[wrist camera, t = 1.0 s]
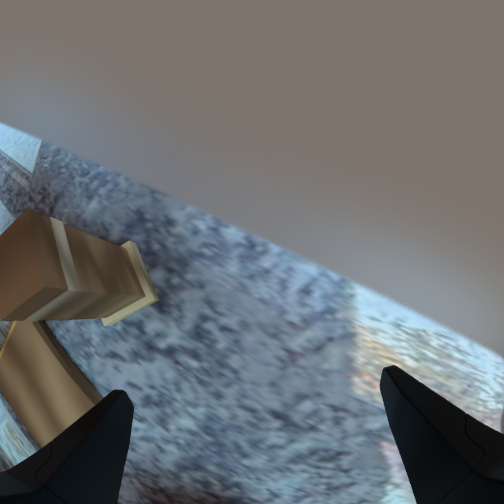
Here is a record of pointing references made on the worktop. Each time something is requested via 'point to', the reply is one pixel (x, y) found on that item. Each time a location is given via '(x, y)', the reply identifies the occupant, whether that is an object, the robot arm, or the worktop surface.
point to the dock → (42, 381)
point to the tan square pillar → (68, 274)
